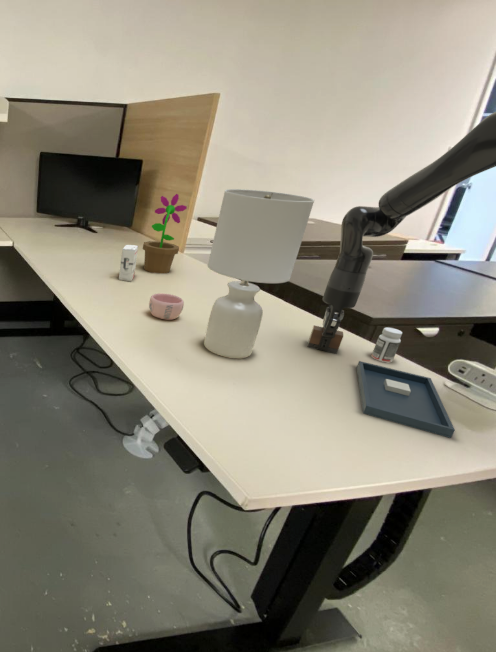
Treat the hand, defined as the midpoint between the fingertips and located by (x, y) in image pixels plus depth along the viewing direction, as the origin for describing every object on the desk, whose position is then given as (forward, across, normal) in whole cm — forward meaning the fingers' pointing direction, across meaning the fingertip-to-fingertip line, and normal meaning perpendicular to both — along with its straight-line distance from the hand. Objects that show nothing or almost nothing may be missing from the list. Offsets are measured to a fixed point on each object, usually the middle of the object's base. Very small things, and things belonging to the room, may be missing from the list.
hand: (322, 346), depth 127 cm
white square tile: (0, -17, -15) cm, 23 cm away
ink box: (+1, +27, +66) cm, 71 cm away
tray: (+1, -21, -15) cm, 26 cm away
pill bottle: (+1, +3, -14) cm, 14 cm away
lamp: (+1, -18, +22) cm, 28 cm away
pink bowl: (+1, -4, +43) cm, 43 cm away
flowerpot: (+1, +47, +60) cm, 76 cm away
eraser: (+1, 0, 0) cm, 1 cm away
